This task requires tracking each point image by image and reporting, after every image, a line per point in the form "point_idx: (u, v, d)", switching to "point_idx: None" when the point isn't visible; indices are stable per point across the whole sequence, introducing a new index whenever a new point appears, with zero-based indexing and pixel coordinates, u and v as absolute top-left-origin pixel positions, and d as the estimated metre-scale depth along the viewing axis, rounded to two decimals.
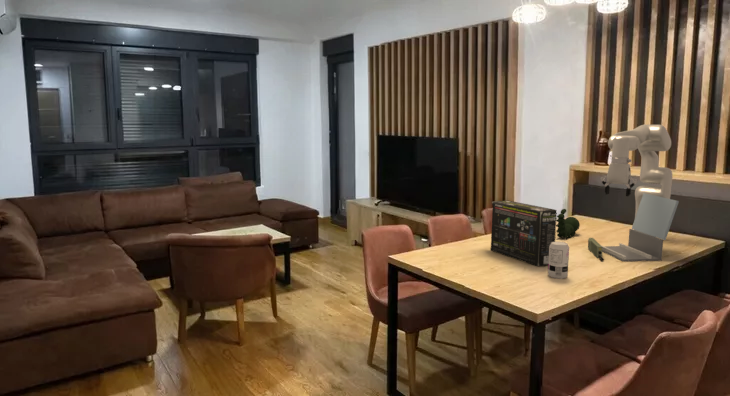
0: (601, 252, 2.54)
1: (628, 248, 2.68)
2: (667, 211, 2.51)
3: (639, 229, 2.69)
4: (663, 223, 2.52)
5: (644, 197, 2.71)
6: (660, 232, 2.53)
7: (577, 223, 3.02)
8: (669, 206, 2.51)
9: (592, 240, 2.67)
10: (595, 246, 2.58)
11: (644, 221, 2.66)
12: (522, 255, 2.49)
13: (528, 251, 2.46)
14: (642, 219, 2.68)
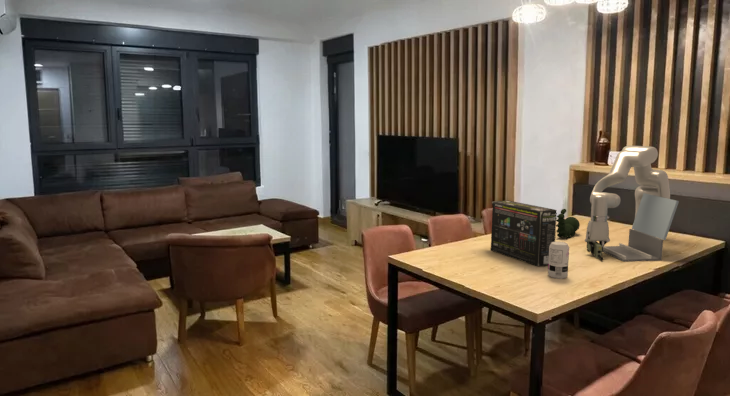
0: (600, 251, 2.54)
1: (628, 248, 2.68)
2: (667, 211, 2.51)
3: (639, 229, 2.69)
4: (663, 223, 2.52)
5: (644, 197, 2.71)
6: (660, 232, 2.53)
7: (577, 223, 3.02)
8: (669, 206, 2.51)
9: None
10: (595, 245, 2.58)
11: (644, 221, 2.66)
12: (522, 255, 2.49)
13: (528, 251, 2.46)
14: (642, 219, 2.68)
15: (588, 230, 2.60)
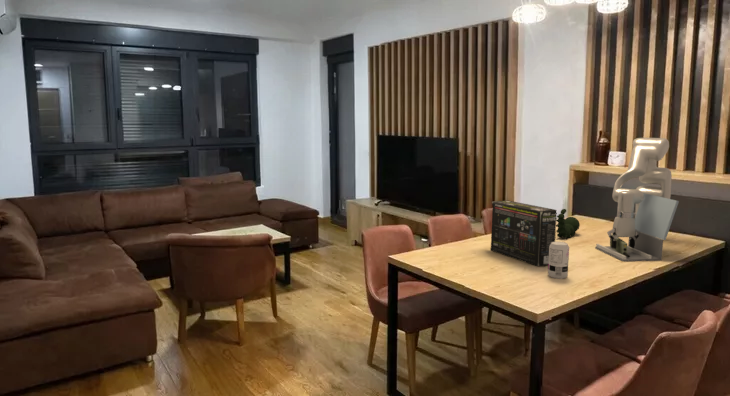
0: (626, 249, 2.56)
1: (628, 248, 2.68)
2: (667, 211, 2.51)
3: (639, 229, 2.69)
4: (663, 223, 2.52)
5: (644, 197, 2.71)
6: (660, 232, 2.53)
7: (577, 223, 3.02)
8: (669, 206, 2.51)
9: None
10: (619, 243, 2.59)
11: (644, 221, 2.66)
12: (522, 255, 2.49)
13: (528, 251, 2.46)
14: (642, 219, 2.68)
15: (614, 226, 2.60)
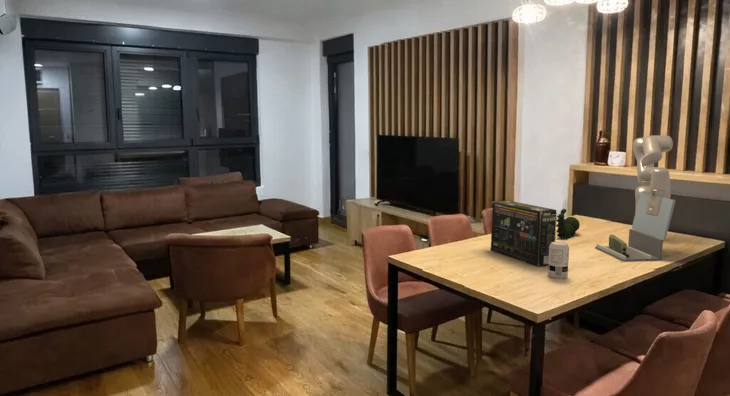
0: (625, 249, 2.56)
1: (628, 248, 2.68)
2: (665, 211, 2.51)
3: (639, 229, 2.69)
4: (662, 223, 2.52)
5: (641, 196, 2.71)
6: (660, 232, 2.53)
7: (577, 223, 3.02)
8: (666, 205, 2.51)
9: (614, 237, 2.68)
10: (619, 243, 2.59)
11: (643, 221, 2.66)
12: (522, 255, 2.49)
13: (528, 251, 2.46)
14: (641, 219, 2.68)
15: None
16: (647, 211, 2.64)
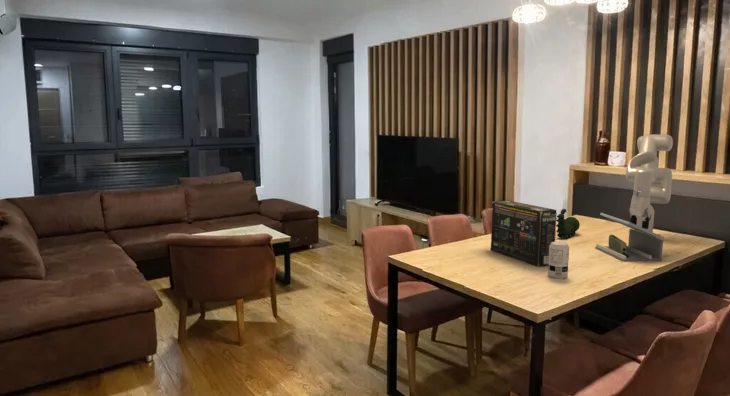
0: (625, 249, 2.56)
1: (628, 248, 2.68)
2: (634, 227, 2.51)
3: (637, 230, 2.69)
4: None
5: (605, 216, 2.71)
6: (653, 235, 2.53)
7: (577, 223, 3.02)
8: (630, 225, 2.51)
9: (614, 237, 2.68)
10: (618, 243, 2.59)
11: None
12: (522, 255, 2.49)
13: (528, 252, 2.46)
14: (628, 226, 2.68)
15: (646, 207, 2.55)
16: (631, 212, 2.63)
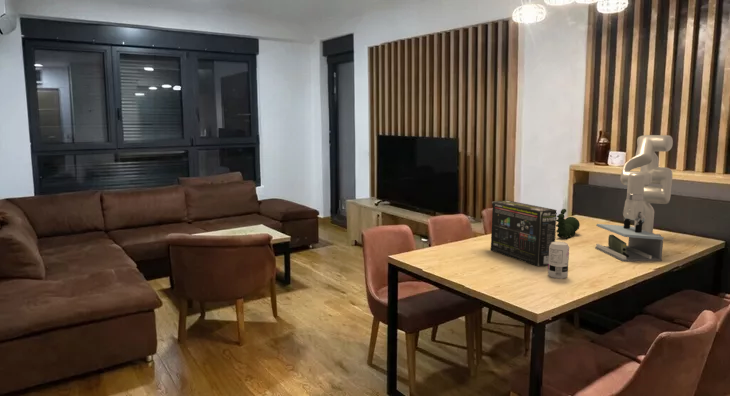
0: (625, 249, 2.56)
1: (628, 248, 2.68)
2: None
3: None
4: None
5: None
6: None
7: (577, 223, 3.02)
8: None
9: (614, 237, 2.68)
10: (618, 243, 2.59)
11: None
12: (522, 255, 2.49)
13: (528, 251, 2.46)
14: None
15: (639, 210, 2.55)
16: (624, 215, 2.63)
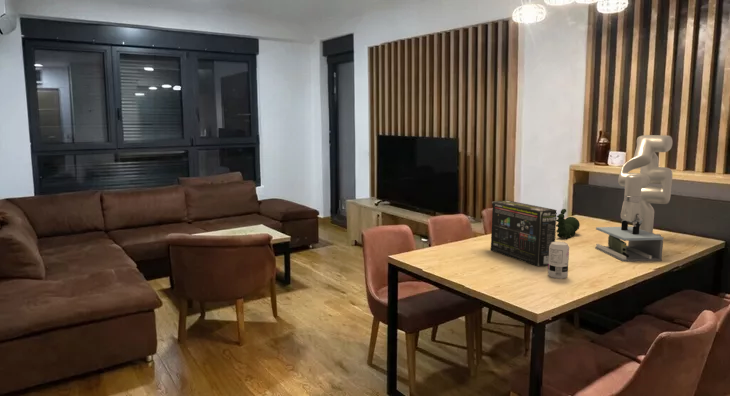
0: (625, 249, 2.56)
1: (628, 248, 2.68)
2: None
3: None
4: None
5: None
6: None
7: (577, 223, 3.02)
8: None
9: (613, 237, 2.68)
10: (618, 243, 2.59)
11: None
12: (522, 255, 2.49)
13: (528, 251, 2.46)
14: None
15: (637, 212, 2.55)
16: (622, 217, 2.63)
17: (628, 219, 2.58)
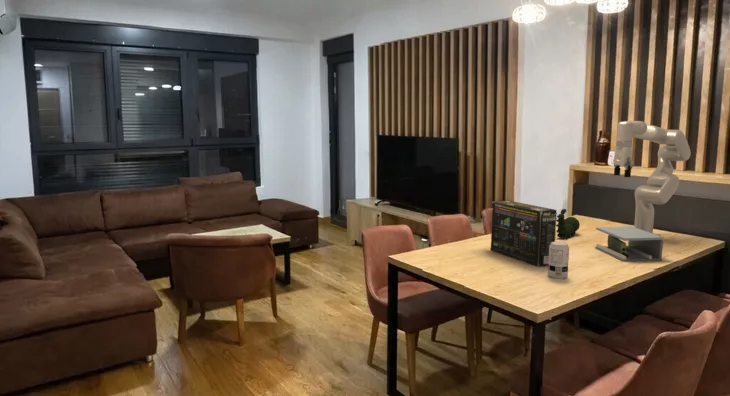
0: (625, 249, 2.56)
1: (628, 248, 2.68)
2: None
3: None
4: None
5: None
6: None
7: (577, 223, 3.02)
8: None
9: (613, 237, 2.68)
10: (618, 243, 2.60)
11: None
12: (522, 255, 2.49)
13: (528, 251, 2.46)
14: None
15: (628, 156, 2.71)
16: (614, 162, 2.79)
17: (620, 163, 2.74)
